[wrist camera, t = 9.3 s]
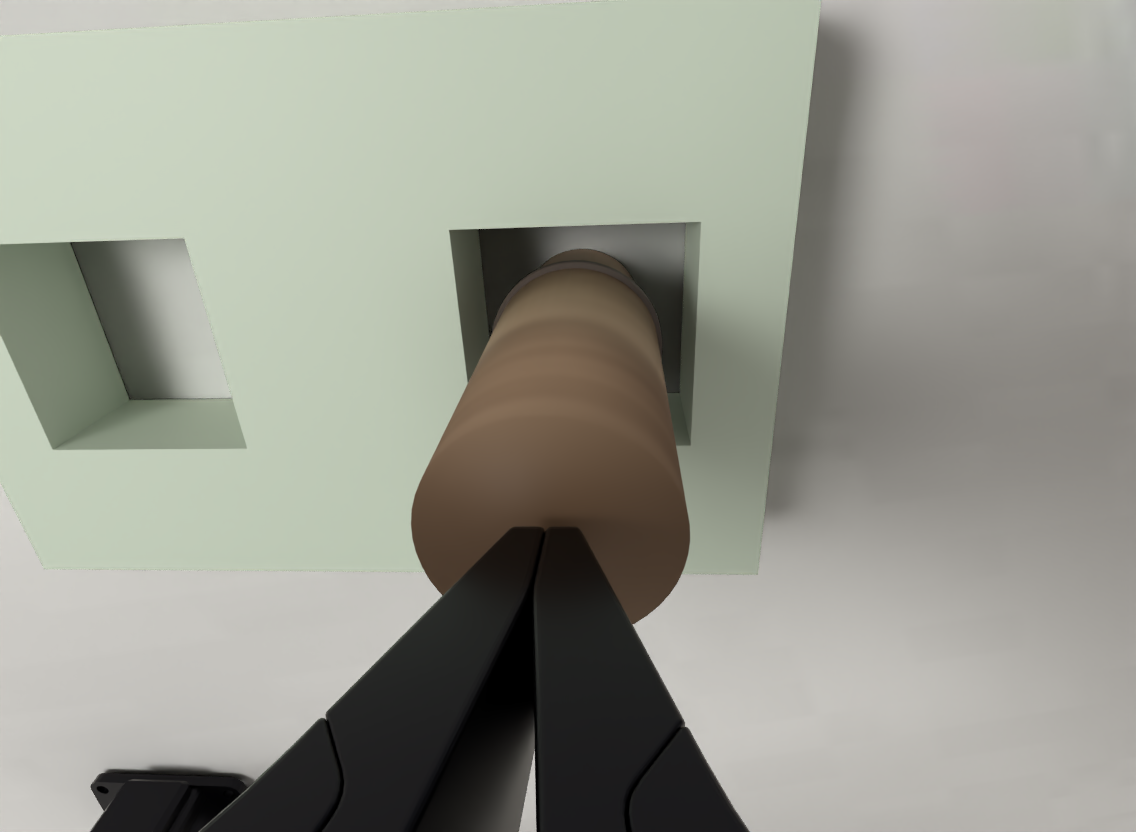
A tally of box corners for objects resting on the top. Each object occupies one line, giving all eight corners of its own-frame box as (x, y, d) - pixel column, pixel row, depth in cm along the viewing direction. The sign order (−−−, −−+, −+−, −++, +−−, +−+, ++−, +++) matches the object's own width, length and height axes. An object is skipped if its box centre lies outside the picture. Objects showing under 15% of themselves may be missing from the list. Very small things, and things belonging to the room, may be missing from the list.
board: (782, 6, 14) (822, -12, 11) (738, 508, 20) (757, 574, 17) (-78, 54, 16) (-221, 48, 13) (115, 508, 21) (43, 569, 19)
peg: (653, 371, 18) (692, 649, 9) (516, 373, 18) (425, 644, 9) (655, 230, 16) (705, 404, 7) (504, 235, 17) (380, 408, 8)
